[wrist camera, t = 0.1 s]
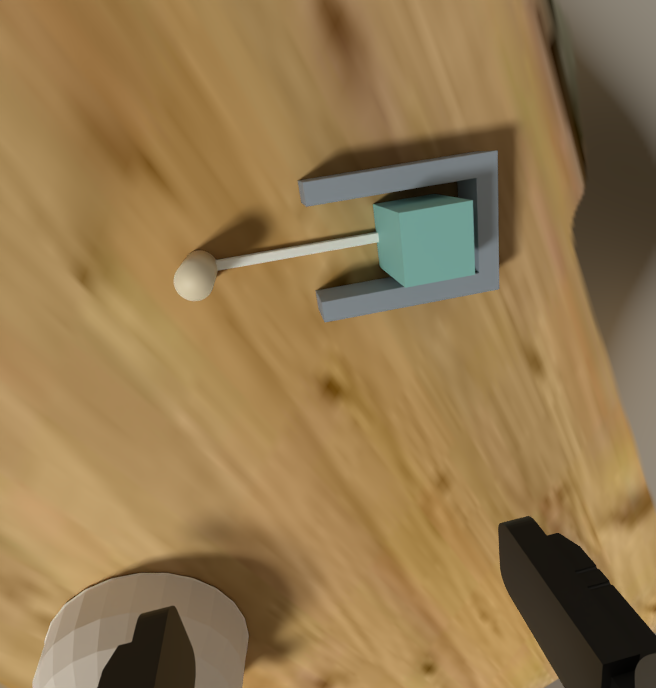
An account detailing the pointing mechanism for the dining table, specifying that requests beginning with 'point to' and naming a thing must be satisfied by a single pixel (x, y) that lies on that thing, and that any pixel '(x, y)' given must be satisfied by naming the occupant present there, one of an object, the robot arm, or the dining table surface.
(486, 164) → the lane
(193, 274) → the tethered block
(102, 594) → the kettle
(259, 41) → the dining table surface
